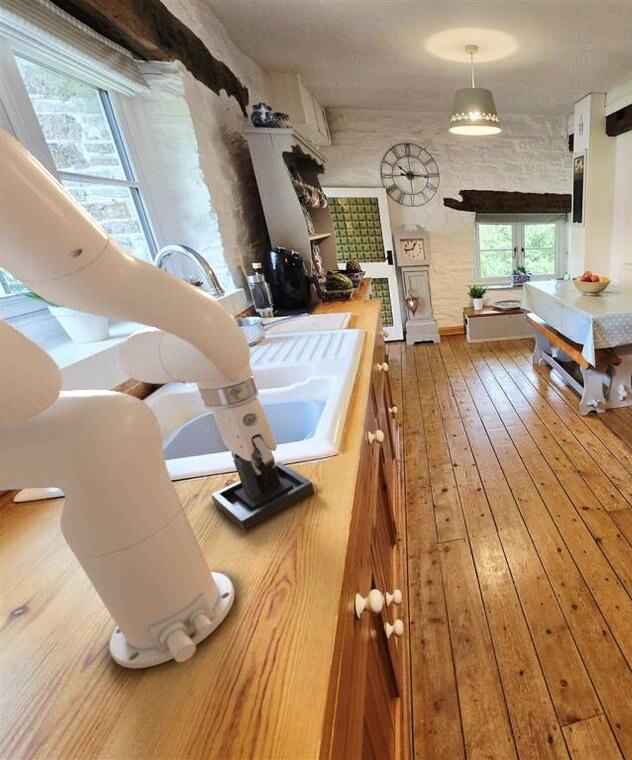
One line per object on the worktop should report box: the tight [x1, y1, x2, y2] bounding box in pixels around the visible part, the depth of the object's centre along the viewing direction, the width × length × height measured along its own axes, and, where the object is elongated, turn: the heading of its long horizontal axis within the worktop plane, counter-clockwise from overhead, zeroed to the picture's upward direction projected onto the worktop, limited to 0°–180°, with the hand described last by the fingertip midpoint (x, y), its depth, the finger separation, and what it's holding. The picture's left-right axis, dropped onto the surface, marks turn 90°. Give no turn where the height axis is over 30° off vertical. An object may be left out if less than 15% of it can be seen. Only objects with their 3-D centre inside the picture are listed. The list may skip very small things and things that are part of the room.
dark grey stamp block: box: [233, 450, 293, 511], centre depth 72 cm, size 7×7×8 cm
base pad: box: [210, 461, 315, 533], centre depth 73 cm, size 12×12×2 cm
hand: (259, 481), depth 72 cm, fingers open, 6 cm apart
